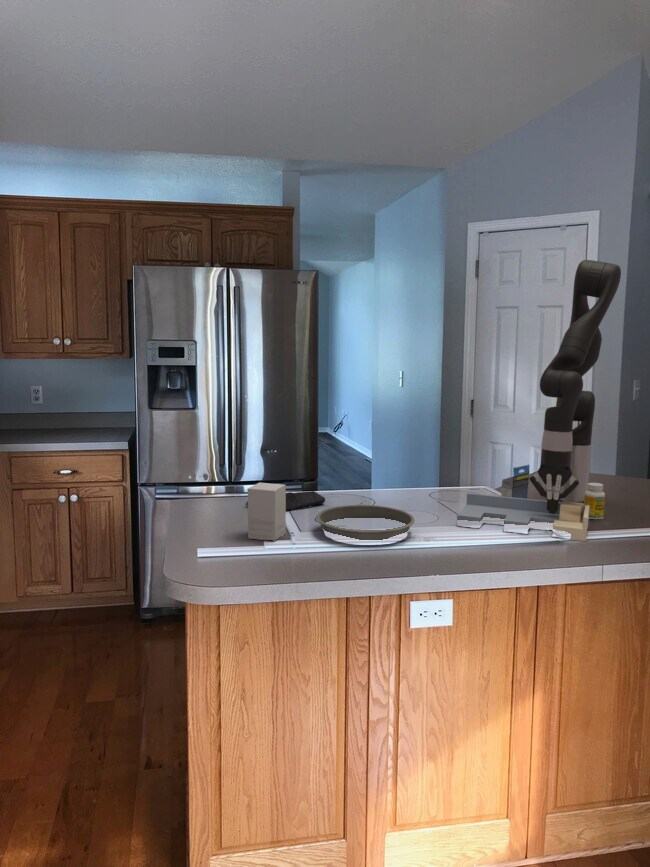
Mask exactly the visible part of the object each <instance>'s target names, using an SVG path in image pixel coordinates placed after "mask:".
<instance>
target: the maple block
mask: <svg viewBox="0 0 650 867" xmlns="http://www.w3.org/2000/svg"><path fill="white" fill-rule="evenodd" d="M583 505H584V502H569V501H563V500H562V504H561V505H560V517H559V520H562V521H569V522H577V523H580V522H581V520H582V517H583Z"/></svg>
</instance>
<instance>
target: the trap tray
mask: <svg viewBox="0 0 650 867" xmlns="http://www.w3.org/2000/svg"><path fill="white" fill-rule="evenodd" d="M562 502H563V501H562ZM562 502H561V501H559V505H558V511H557V512H555V514H552V513H549V511H547V500H541V499H533V498H527V499H523V498H513V497H503V496H501V495H493V494H483V493H481V494H480V493H472V492H467V493H466V504H465V505H464V506H463V508H462V509H461V510H460V511H459V512H458V514H457V515H456V516H457V517H456V521H457V520H468V521H479V522H480V521H481V520H482V519H483V517H490V518H500V519H505V520H504V524H515V525H528V524H529V523H530V521H535V522H547V523H548V522H549V523H554V524H553V529H556V530H561V531H565V532H568V533H570V534H571V538H570V539H571V541H577V542H586V541H587V538H588V530H589V520H590V519H589V506H590V505H584V504H583V517H582V520H581V522H580V523H577V522H569V521H562V520H559V517H560V505H561V504H562ZM587 529H588V530H587ZM586 537H587V538H586Z"/></svg>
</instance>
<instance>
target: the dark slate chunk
mask: <svg viewBox="0 0 650 867" xmlns="http://www.w3.org/2000/svg"><path fill="white" fill-rule="evenodd" d="M325 502H326V498H325V497H324V496H323V495H321V494H320V493H319V494H318V492H316V491H315V490H312V491H301V492H286V510H290V511H291V510H292V509H294V510H298V509H297V508H301V509H304V508H303V507H307V508H310V507H309V506H313V507H315V506H314V505H316V506H319V505H318V504H320V505H321V504H324V503H325ZM245 505H246V506H248V500H247V501H246V503H245ZM292 511H293V510H292Z"/></svg>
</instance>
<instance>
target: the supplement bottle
mask: <svg viewBox="0 0 650 867" xmlns="http://www.w3.org/2000/svg"><path fill="white" fill-rule="evenodd" d="M603 490H604V484H603V483H601V482H600V483H599V482H588V490H587V491H586V492H585V495H584V501H583V503H584V504H583V505H590V506H589V518H590V519H602V520H603V519H604V517H605V516H604V515H605V503H606V493H605V492H604V491H603ZM590 519H589V520H590Z"/></svg>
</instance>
